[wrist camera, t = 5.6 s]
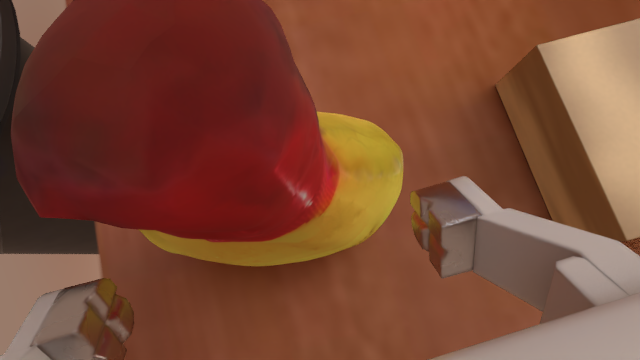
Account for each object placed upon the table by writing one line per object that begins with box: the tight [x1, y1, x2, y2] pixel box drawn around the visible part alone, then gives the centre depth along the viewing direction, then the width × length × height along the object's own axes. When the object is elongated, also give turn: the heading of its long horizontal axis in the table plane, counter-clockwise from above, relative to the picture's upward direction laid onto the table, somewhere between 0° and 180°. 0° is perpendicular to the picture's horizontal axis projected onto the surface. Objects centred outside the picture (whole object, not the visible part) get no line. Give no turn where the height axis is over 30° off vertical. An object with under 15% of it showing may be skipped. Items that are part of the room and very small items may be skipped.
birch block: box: [495, 18, 640, 242], centre depth 22 cm, size 12×12×5 cm
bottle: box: [11, 0, 403, 266], centre depth 14 cm, size 12×6×20 cm, turn 98°
